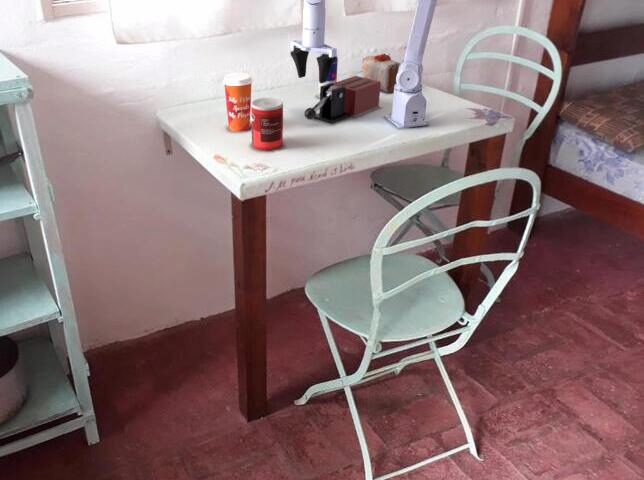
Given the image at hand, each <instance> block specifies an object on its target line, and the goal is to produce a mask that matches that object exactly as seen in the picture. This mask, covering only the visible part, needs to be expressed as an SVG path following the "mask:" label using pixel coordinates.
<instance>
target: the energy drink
mask: <svg viewBox="0 0 644 480" xmlns="http://www.w3.org/2000/svg"><path fill="white" fill-rule="evenodd" d="M320 56H322V54H319V57H320ZM338 60H339V58H338V55H337V56H336V59H335V61H334V62H333V64H332V66H331V68H330V71H329V74H328V77H327V81H326V82H325V83H319V79H318V84H317V97H318V98H320V86H323V85H326V84H329V83H336V82H338V65H339V64H338V62H339V61H338Z"/></svg>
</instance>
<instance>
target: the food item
mask: <svg viewBox="0 0 644 480" xmlns="http://www.w3.org/2000/svg"><path fill="white" fill-rule="evenodd" d="M390 55H391V53H388V54H386V53H382V54H377V55H368V56H365V57H362V60H361V63H362V64H361V69H362V70H361V77H363V78H367V79H371V80H376V81H380V82H381V85H380V91H383V92H385V93H389V94H391V93H394V85H395V84H396V76H397V73H398V68H399V65H400V63H401V62H399V61H395V60H393V59H391V56H390Z"/></svg>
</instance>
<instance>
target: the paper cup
mask: <svg viewBox="0 0 644 480" xmlns="http://www.w3.org/2000/svg"><path fill="white" fill-rule="evenodd" d="M253 82H254V79H253V77H252V76H251V74H250V73H246V72H232V73H231V72H230V73H227V74H226V75H225V76H224V79H223V81H222V83H223V84H224V93H225V105H226V106H225V107H226V114H227V122H228V123H227V124H228V129H229V130H230V131H232V132H244V131H248V130H249V129H250V126H251V104H252V85H253V84H252V83H253Z"/></svg>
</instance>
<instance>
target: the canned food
mask: <svg viewBox="0 0 644 480" xmlns="http://www.w3.org/2000/svg"><path fill="white" fill-rule="evenodd" d="M250 119H251V144H252V146H253V147H254V148H255V149H256V150H259V151H264V152H265V151H266V152H269V151H273V150H278V149H280V148H282V146H283V144H284V103H283V101H282V100H281V99H278V98H275V97H274V98H273V97H261V98H256V99H254V100H251V111H250Z"/></svg>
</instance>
